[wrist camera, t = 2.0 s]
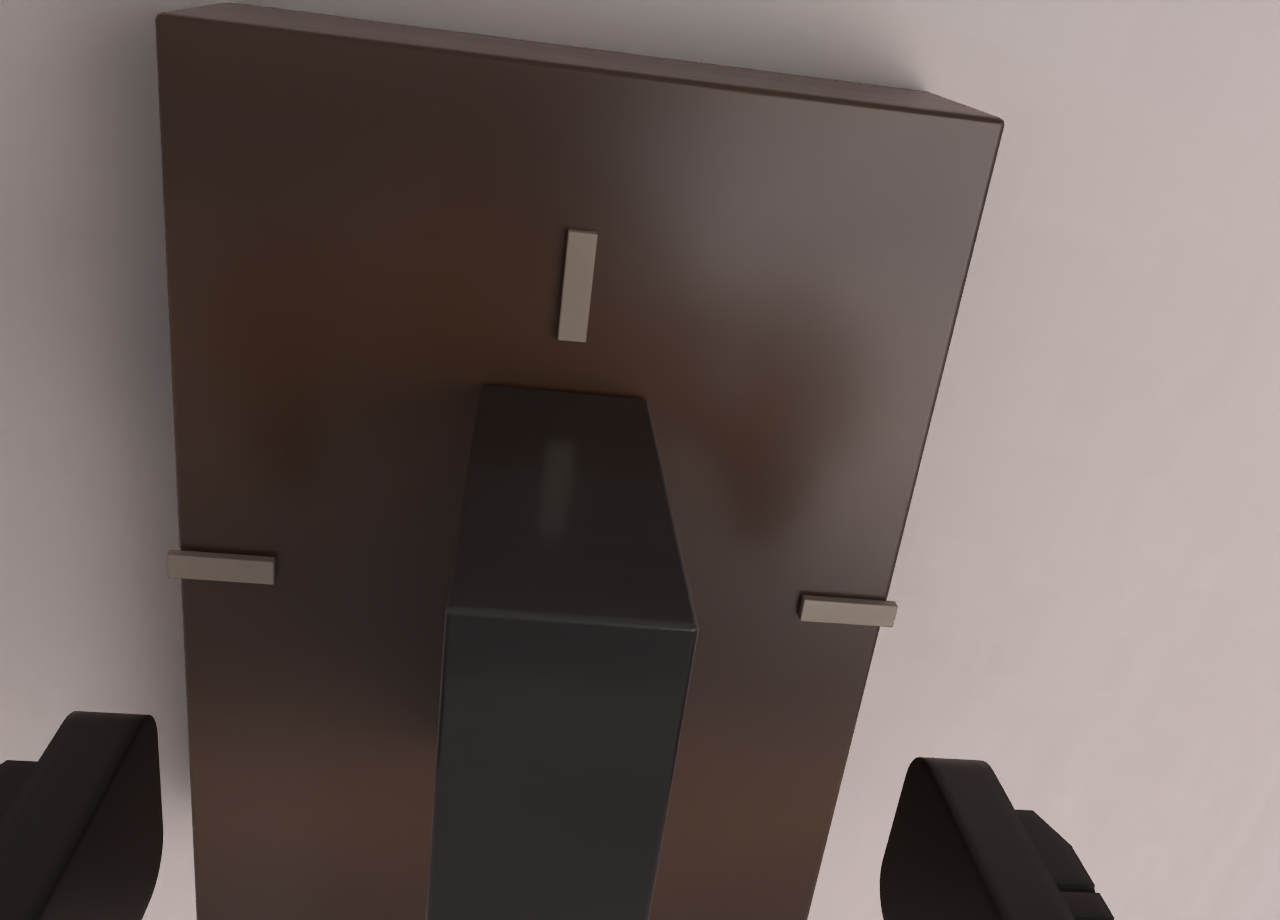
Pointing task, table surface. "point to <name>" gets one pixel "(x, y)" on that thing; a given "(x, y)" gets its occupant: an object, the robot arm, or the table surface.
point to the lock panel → (543, 360)
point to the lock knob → (559, 665)
